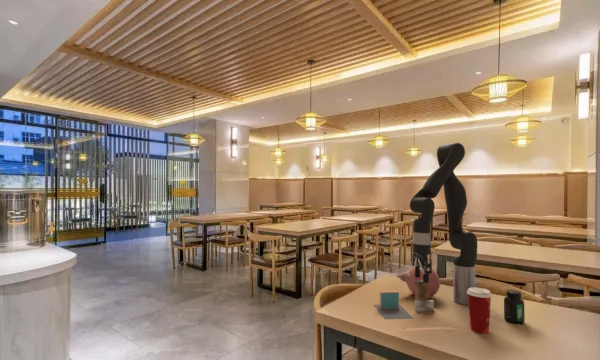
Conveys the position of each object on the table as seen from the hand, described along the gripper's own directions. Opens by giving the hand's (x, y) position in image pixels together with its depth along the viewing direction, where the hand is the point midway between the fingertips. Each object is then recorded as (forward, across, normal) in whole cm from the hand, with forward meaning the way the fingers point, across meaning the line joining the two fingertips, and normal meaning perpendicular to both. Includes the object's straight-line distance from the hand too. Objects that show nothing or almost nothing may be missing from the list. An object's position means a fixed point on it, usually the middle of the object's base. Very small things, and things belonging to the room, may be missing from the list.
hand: (421, 279), depth 139 cm
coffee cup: (+13, -20, -14) cm, 28 cm away
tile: (+13, +2, +14) cm, 19 cm away
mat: (+14, -2, +14) cm, 19 cm away
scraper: (+13, 0, 0) cm, 13 cm away
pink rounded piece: (+13, +18, -6) cm, 23 cm away
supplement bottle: (+13, -13, -32) cm, 37 cm away
